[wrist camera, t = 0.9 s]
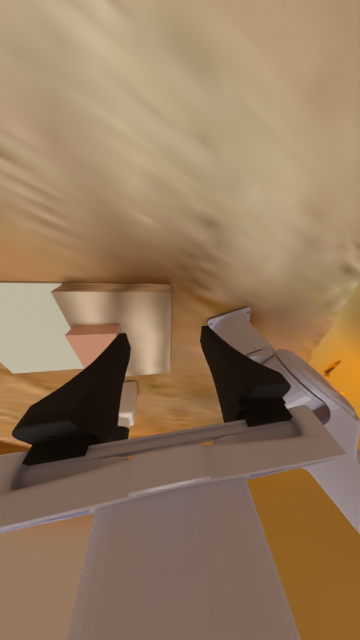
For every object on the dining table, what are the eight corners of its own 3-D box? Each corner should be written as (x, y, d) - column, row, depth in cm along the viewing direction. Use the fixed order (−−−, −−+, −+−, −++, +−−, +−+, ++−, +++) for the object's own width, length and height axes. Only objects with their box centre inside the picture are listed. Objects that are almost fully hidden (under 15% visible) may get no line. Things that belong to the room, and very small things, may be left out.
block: (119, 324, 19) (115, 333, 17) (128, 359, 23) (126, 369, 22) (73, 325, 18) (64, 335, 16) (92, 362, 23) (87, 372, 21)
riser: (170, 283, 19) (171, 292, 17) (168, 360, 30) (169, 372, 27) (65, 282, 17) (50, 291, 15) (103, 365, 28) (97, 378, 25)
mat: (63, 282, 17) (61, 283, 17) (101, 365, 28) (100, 367, 27) (-89, 280, 15) (-94, 281, 15) (15, 371, 25) (13, 373, 25)
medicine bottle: (105, 382, 31) (82, 451, 22) (136, 380, 33) (127, 445, 23) (110, 396, 35) (92, 460, 26) (137, 394, 37) (130, 454, 27)
